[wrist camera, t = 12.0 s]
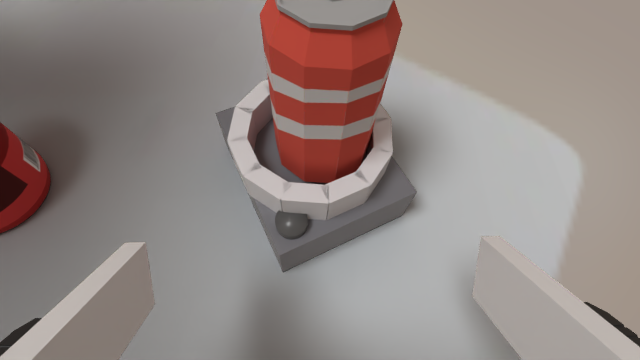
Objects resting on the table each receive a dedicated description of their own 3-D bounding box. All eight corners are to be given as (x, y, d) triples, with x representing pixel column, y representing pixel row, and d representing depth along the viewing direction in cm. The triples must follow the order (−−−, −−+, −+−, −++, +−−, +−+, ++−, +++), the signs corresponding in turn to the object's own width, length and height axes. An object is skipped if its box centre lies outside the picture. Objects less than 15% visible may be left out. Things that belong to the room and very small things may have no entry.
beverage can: (348, 108, 26) (377, -65, 16) (376, 178, 24) (434, 24, 13) (270, 122, 26) (246, -52, 15) (289, 198, 23) (275, 48, 12)
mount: (224, 144, 29) (204, 90, 23) (333, 105, 32) (339, 47, 26) (280, 273, 24) (272, 243, 18) (404, 214, 27) (431, 172, 21)
